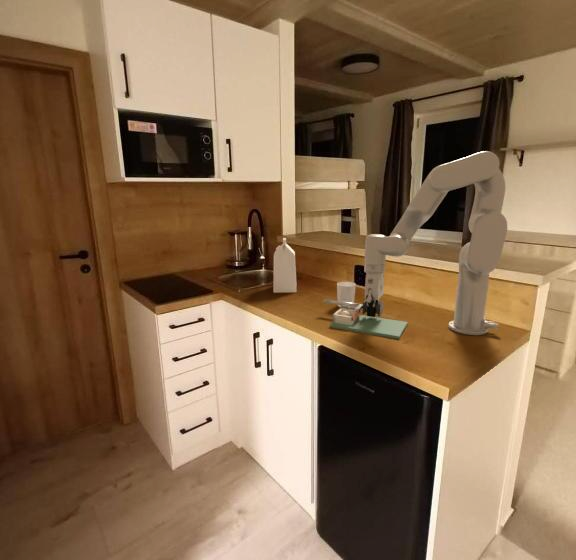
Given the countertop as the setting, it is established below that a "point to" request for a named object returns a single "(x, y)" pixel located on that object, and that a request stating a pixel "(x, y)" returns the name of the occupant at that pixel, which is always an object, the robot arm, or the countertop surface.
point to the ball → (345, 313)
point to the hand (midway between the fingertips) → (372, 314)
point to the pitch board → (374, 326)
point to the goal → (341, 318)
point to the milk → (284, 269)
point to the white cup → (346, 292)
